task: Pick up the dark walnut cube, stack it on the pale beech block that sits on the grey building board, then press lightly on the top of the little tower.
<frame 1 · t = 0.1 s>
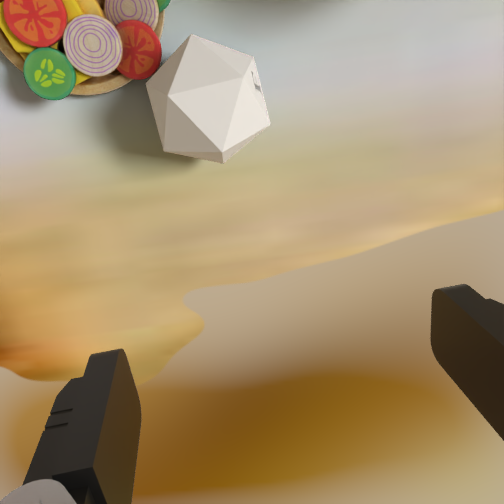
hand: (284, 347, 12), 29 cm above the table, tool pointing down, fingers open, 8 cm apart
toy food set: (81, 2, 33), on the table
die: (206, 99, 37), on the table
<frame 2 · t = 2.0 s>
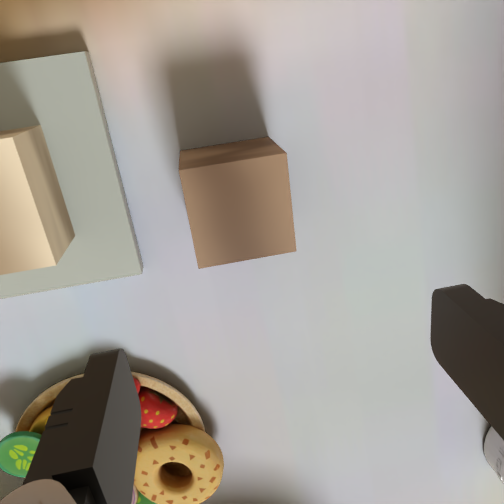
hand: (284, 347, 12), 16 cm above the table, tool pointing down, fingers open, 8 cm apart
walnut cube: (231, 186, 26), on the table
toy food set: (115, 435, 33), on the table
beech block: (0, 192, 23), point 1 cm above the table, touching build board
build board: (7, 187, 24), on the table
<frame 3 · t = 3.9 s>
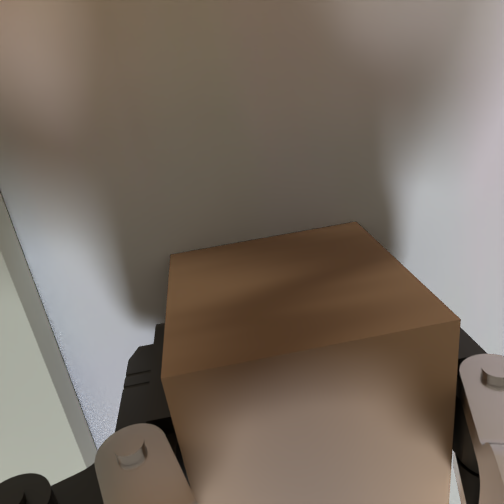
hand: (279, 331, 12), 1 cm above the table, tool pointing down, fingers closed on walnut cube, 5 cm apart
walnut cube: (275, 317, 13), on the table, touching gripper
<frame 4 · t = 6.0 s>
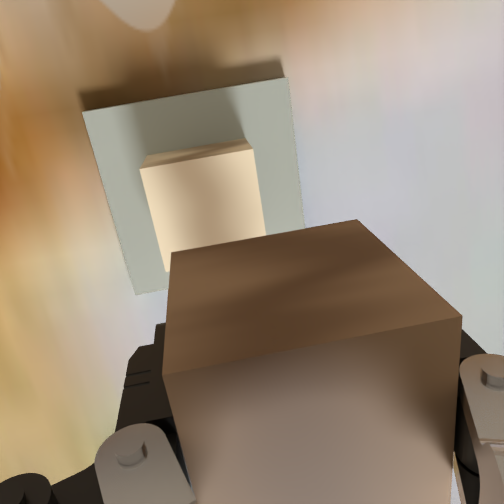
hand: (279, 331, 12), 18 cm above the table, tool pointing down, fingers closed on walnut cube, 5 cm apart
walnut cube: (276, 315, 13), point 18 cm above the table, touching gripper
beech block: (206, 194, 28), point 1 cm above the table, touching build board
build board: (205, 190, 29), on the table
when the fingers open (6 cm above the table, at t = 8.1 s): walnut cube stays where it is, resting on beech block.
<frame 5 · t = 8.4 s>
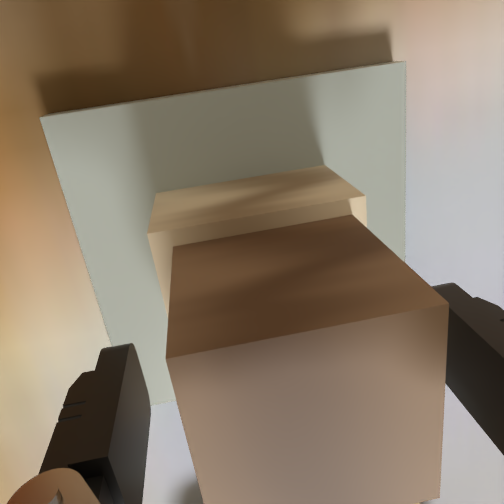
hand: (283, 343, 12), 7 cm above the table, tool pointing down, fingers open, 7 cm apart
walnut cube: (274, 308, 13), point 5 cm above the table, touching beech block
beech block: (252, 256, 17), point 1 cm above the table, touching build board, walnut cube
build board: (249, 246, 18), on the table
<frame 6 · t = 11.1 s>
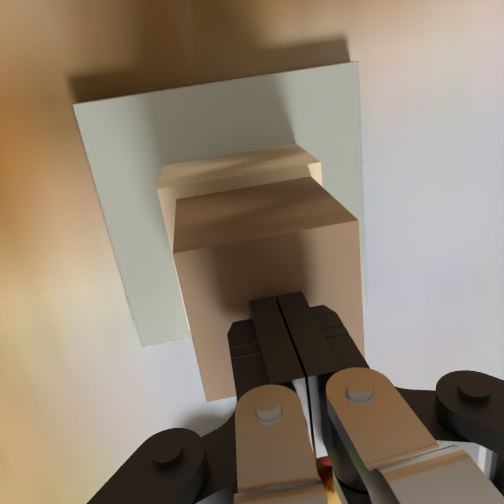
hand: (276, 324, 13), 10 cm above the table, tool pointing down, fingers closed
walnut cube: (253, 249, 17), point 5 cm above the table, touching beech block
toy food set: (292, 472, 30), on the table
beech block: (239, 217, 21), point 1 cm above the table, touching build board, walnut cube
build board: (237, 211, 22), on the table
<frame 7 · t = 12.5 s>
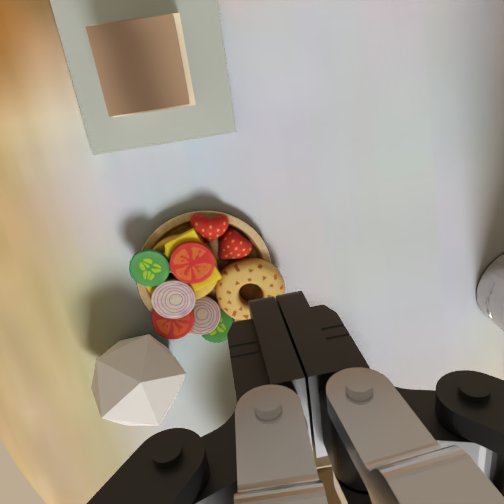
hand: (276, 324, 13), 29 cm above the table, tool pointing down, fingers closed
walnut cube: (146, 66, 31), point 5 cm above the table, touching beech block
planter bowl: (297, 439, 54), on the table
toy food set: (204, 271, 44), on the table
beech block: (149, 66, 35), point 1 cm above the table, touching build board, walnut cube
die: (141, 355, 46), on the table
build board: (150, 65, 36), on the table
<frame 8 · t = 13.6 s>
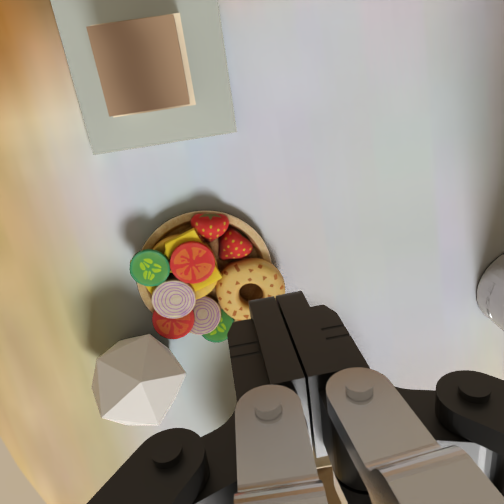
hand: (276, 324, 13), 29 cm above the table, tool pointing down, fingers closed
walnut cube: (146, 66, 31), point 5 cm above the table, touching beech block
planter bowl: (297, 439, 54), on the table
toy food set: (204, 271, 44), on the table
beech block: (149, 66, 35), point 1 cm above the table, touching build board, walnut cube
die: (141, 355, 47), on the table
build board: (150, 66, 36), on the table
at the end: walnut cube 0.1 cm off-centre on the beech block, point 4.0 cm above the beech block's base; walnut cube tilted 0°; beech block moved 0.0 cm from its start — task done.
